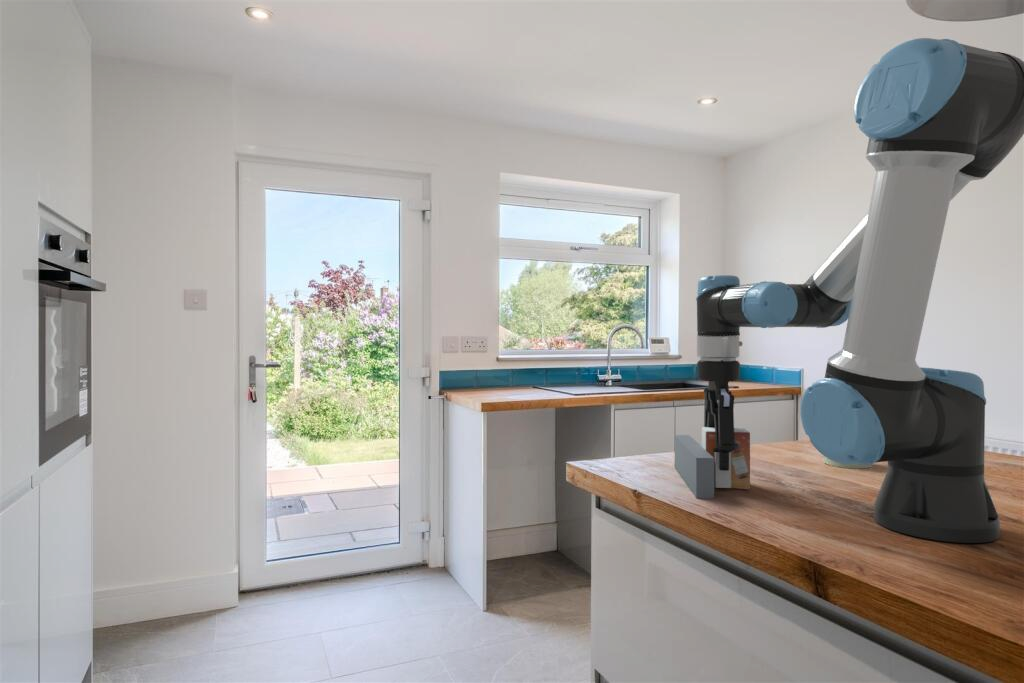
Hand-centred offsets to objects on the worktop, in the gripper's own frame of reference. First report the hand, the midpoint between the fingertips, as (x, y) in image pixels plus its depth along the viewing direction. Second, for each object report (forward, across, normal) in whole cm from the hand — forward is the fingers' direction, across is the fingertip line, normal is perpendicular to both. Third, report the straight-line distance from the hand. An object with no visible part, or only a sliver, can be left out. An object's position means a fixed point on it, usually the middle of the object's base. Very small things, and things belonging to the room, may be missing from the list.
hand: (718, 482), depth 115 cm
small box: (+1, 0, -1) cm, 2 cm away
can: (+1, +22, -32) cm, 38 cm away
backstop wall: (+1, +3, +4) cm, 5 cm away
